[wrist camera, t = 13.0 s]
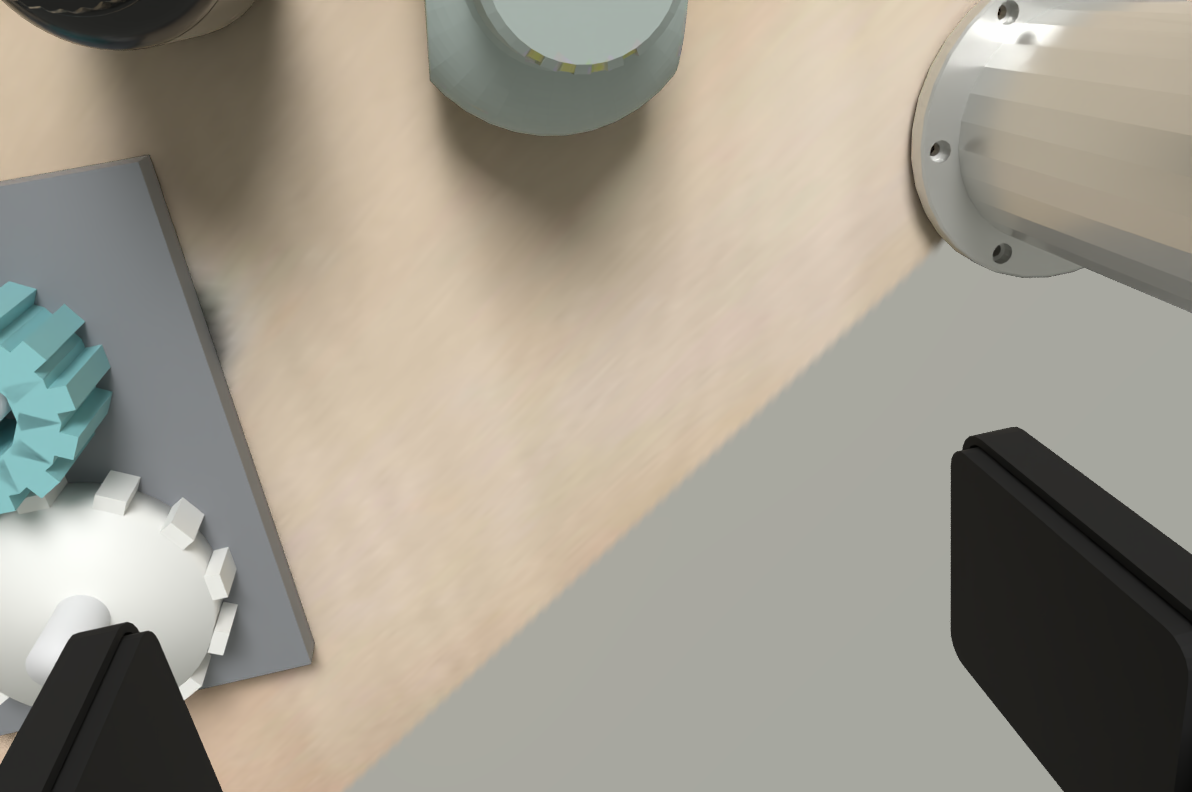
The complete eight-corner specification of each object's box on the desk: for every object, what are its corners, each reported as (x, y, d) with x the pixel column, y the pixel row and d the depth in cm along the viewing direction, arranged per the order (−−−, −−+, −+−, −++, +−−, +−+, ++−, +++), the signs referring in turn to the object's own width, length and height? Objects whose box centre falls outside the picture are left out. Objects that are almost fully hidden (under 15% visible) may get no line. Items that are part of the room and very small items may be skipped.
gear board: (149, 154, 34) (93, 189, 29) (314, 642, 43) (298, 745, 38) (-265, 228, 33) (-413, 280, 27) (-6, 715, 42) (-75, 834, 36)
